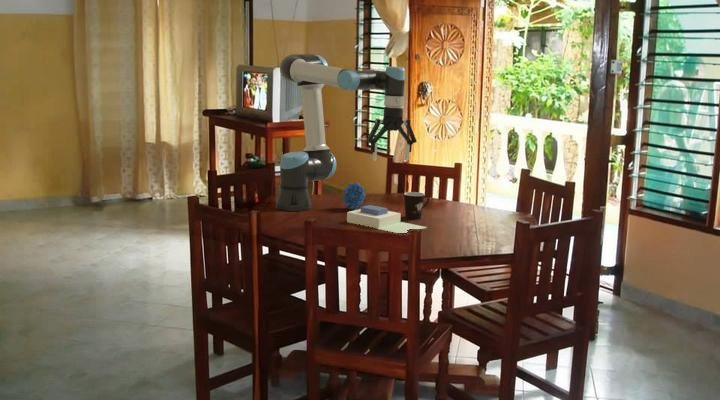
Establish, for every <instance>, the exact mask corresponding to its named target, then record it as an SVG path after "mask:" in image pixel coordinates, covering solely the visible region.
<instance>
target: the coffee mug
mask: <svg viewBox="0 0 720 400" xmlns="http://www.w3.org/2000/svg"><path fill="white" fill-rule="evenodd" d="M425 198H426V199H427V201H426V202H425ZM403 201H404V211H405V219H407V220H412V219H413V220H414V221H415V220H416V221H417V220H420V219H421V220H422V214H423V209H424V208H425V207H426V206H427V205H428V204H429V202H430V196H428V195H426V194H425V193H423V192H416V191H406V192H404V193H403ZM424 203H425V204H424ZM413 220H412V221H413Z"/></svg>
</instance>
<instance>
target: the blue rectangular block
mask: <svg viewBox="0 0 720 400" xmlns="http://www.w3.org/2000/svg"><path fill="white" fill-rule="evenodd" d="M360 209H361V210H360V212H363V213H368V214H373V215H377V216H379V215H383V214H387V213H388V211H389V210H388V208H387V207H382V206H377V205H372V204H371V205H370V204H369V205H365V206H363V205H362V206H360Z"/></svg>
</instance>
